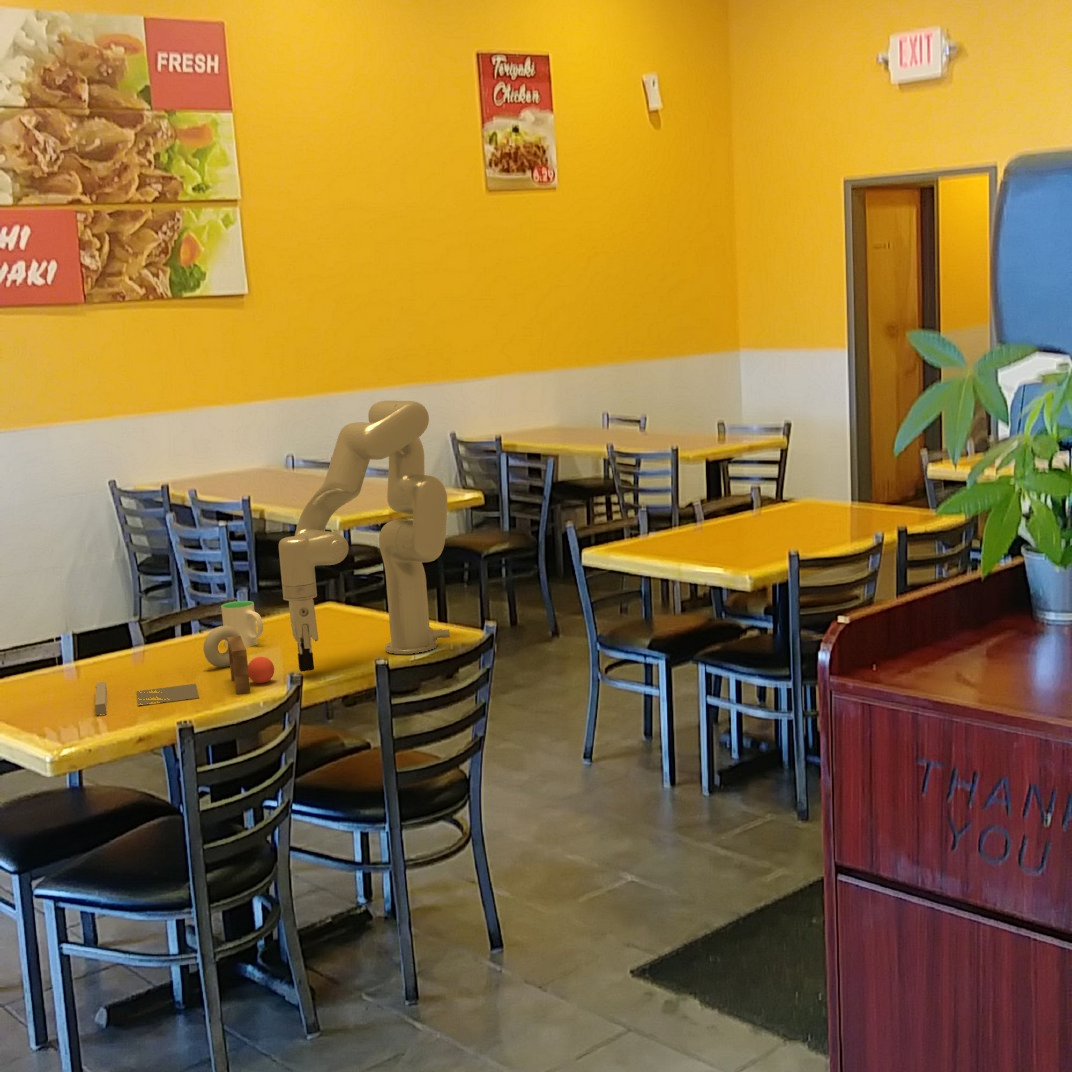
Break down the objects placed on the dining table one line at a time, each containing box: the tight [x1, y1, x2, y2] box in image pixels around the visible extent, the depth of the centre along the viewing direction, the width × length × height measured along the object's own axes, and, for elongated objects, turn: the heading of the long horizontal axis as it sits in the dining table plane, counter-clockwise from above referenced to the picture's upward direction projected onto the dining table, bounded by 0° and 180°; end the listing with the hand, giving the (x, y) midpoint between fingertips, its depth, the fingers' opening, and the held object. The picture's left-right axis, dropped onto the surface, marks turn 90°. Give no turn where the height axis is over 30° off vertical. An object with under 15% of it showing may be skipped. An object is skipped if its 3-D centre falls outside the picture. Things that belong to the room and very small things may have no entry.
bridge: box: [227, 636, 251, 695], centre depth 316 cm, size 3×15×10 cm, turn 16°
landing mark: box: [136, 683, 200, 706], centre depth 313 cm, size 13×13×1 cm
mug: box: [220, 600, 264, 648], centre depth 357 cm, size 12×8×10 cm
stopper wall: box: [94, 681, 108, 716], centre depth 309 cm, size 2×20×2 cm, turn 16°
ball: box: [248, 656, 275, 684], centre depth 318 cm, size 6×6×6 cm
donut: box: [203, 625, 240, 668], centre depth 335 cm, size 10×3×10 cm, turn 133°
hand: (306, 669), depth 321 cm, fingers closed
